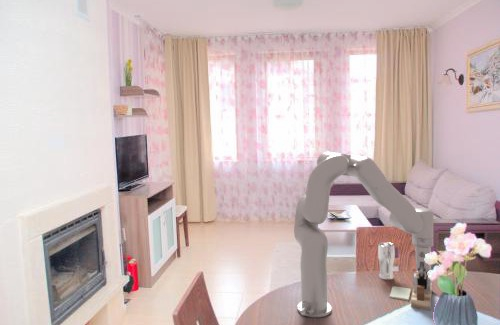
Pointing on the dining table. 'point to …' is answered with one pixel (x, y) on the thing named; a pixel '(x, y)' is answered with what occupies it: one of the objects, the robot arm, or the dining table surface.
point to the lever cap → (426, 291)
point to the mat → (400, 293)
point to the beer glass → (386, 260)
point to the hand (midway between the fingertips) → (422, 283)
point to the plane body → (421, 298)
